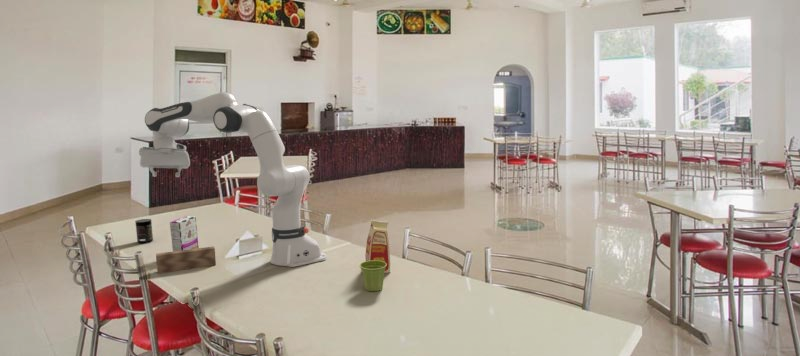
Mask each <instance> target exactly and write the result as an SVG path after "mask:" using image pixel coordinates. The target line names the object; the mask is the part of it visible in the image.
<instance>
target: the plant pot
mask: <svg viewBox="0 0 800 356" xmlns="http://www.w3.org/2000/svg"><path fill="white" fill-rule="evenodd" d="M358 266H359V268H360V271H361V272H362V273H361V274H362V279H363V286H364V288H365V289H364V290H365V291H368V292H373V291H375V292H379V291H381V290H383V287H384V280H385V279H384V278H385V273H384V271H385V267H386V266H387V264H386V263H385V262H383V261H378V260H372V261H366V260H365V261H362V262H361V263H359V265H358Z"/></svg>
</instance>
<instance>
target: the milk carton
mask: <svg viewBox="0 0 800 356" xmlns="http://www.w3.org/2000/svg"><path fill="white" fill-rule="evenodd" d="M370 222H371V224H370V228H369V231H368V235H367V239H366V246H365V261H372V260H378V261H383V262H385V263H386V264H387V266H386V267H385V271H384V274H388V273H391V254H390V253H391V252H390V243H389V237H388V235H389V234H388V225H389V221H378V220H374V219H370Z"/></svg>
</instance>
